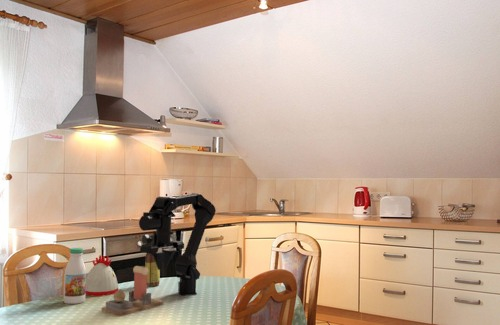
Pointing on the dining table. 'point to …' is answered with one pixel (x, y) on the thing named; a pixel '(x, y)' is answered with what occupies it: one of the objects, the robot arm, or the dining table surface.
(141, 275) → the lever
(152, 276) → the sauce bottle
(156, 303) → the base
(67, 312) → the dining table surface
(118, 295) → the walnut
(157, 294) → the dining table surface
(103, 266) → the white and red dome
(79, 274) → the milk bottle
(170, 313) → the dining table surface
